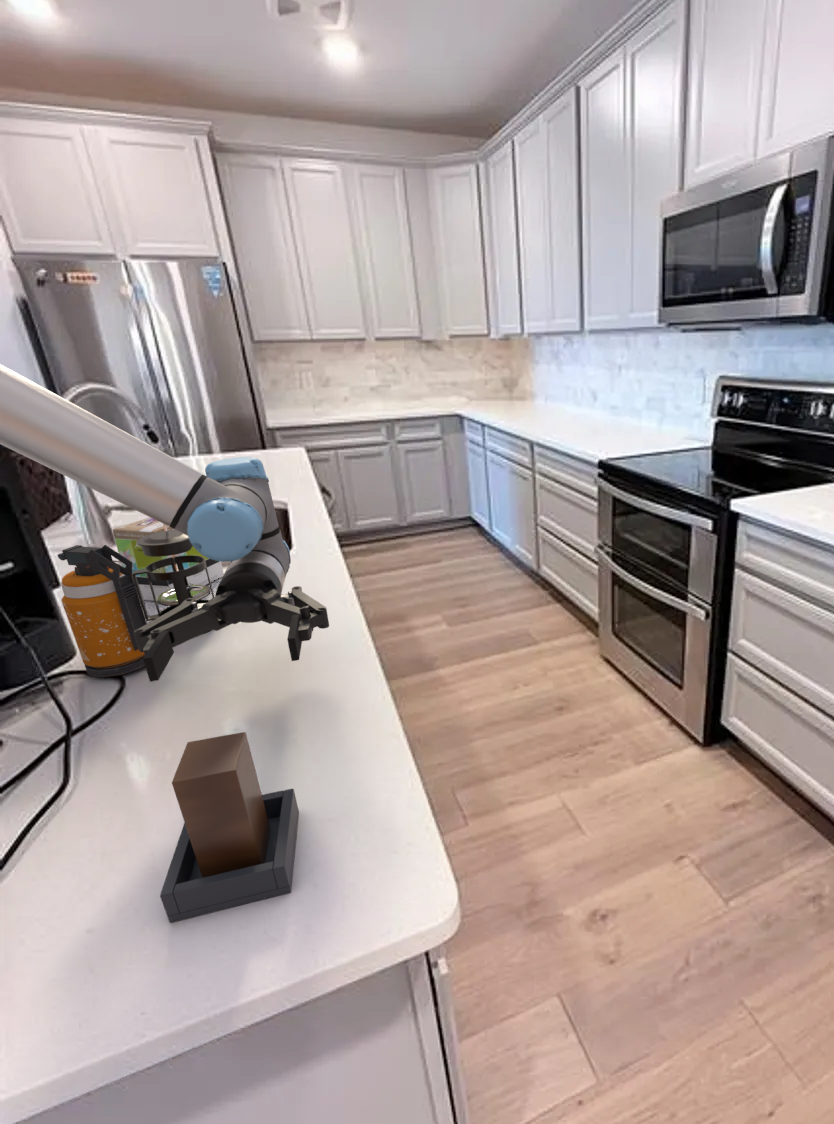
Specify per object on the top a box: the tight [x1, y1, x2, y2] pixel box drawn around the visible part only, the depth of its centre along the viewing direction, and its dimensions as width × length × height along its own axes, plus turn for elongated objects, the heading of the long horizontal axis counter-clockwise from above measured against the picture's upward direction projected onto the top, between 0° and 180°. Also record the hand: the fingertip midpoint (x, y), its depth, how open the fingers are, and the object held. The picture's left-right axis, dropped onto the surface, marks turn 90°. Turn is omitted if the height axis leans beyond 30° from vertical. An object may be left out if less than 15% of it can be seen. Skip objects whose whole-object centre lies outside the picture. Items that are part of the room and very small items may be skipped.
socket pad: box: [159, 788, 300, 923], centre depth 60 cm, size 10×11×3 cm
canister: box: [57, 544, 147, 678], centre depth 93 cm, size 9×11×20 cm
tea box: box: [112, 516, 225, 602], centre depth 125 cm, size 15×10×15 cm, turn 170°
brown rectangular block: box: [171, 731, 270, 878], centre depth 58 cm, size 5×6×12 cm
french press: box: [132, 524, 220, 634], centre depth 106 cm, size 12×9×23 cm
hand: (224, 659), depth 65 cm, fingers open, 13 cm apart
